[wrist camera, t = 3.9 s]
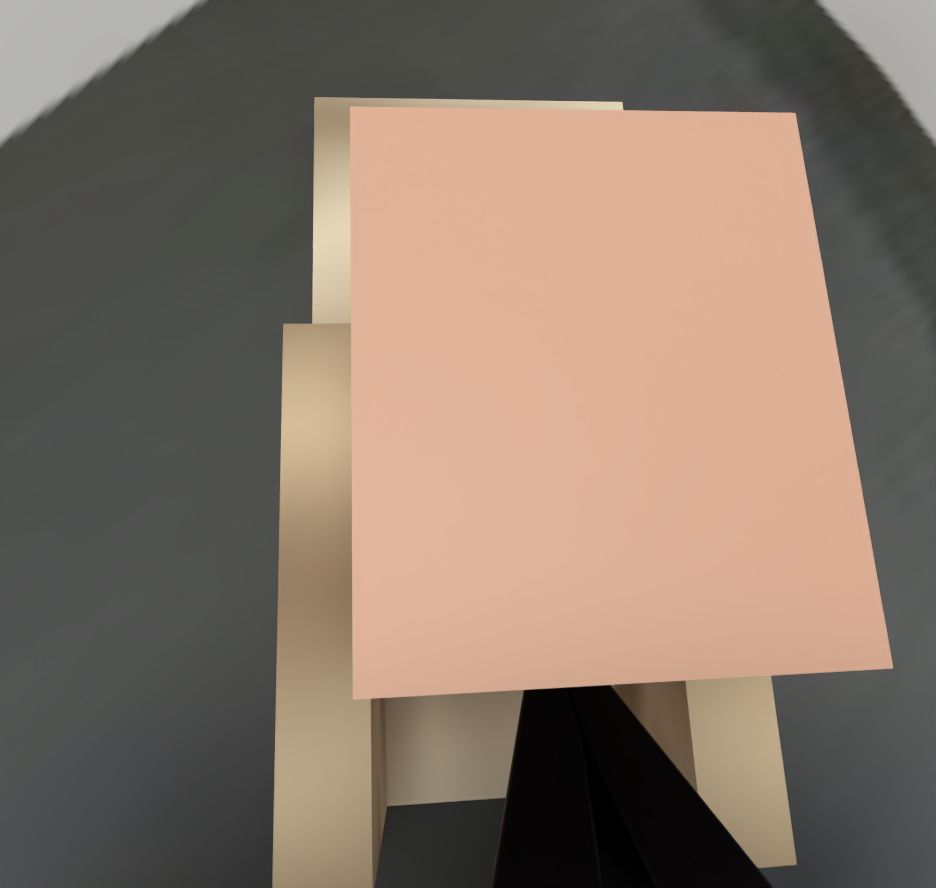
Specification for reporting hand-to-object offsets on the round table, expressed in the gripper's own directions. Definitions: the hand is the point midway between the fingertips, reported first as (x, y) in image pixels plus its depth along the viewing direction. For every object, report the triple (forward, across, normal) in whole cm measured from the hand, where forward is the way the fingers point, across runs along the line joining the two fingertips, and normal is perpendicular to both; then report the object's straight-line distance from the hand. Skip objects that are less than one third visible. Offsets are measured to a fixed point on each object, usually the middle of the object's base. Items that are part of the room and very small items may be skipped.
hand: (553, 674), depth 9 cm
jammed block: (+7, 0, +2) cm, 7 cm away
